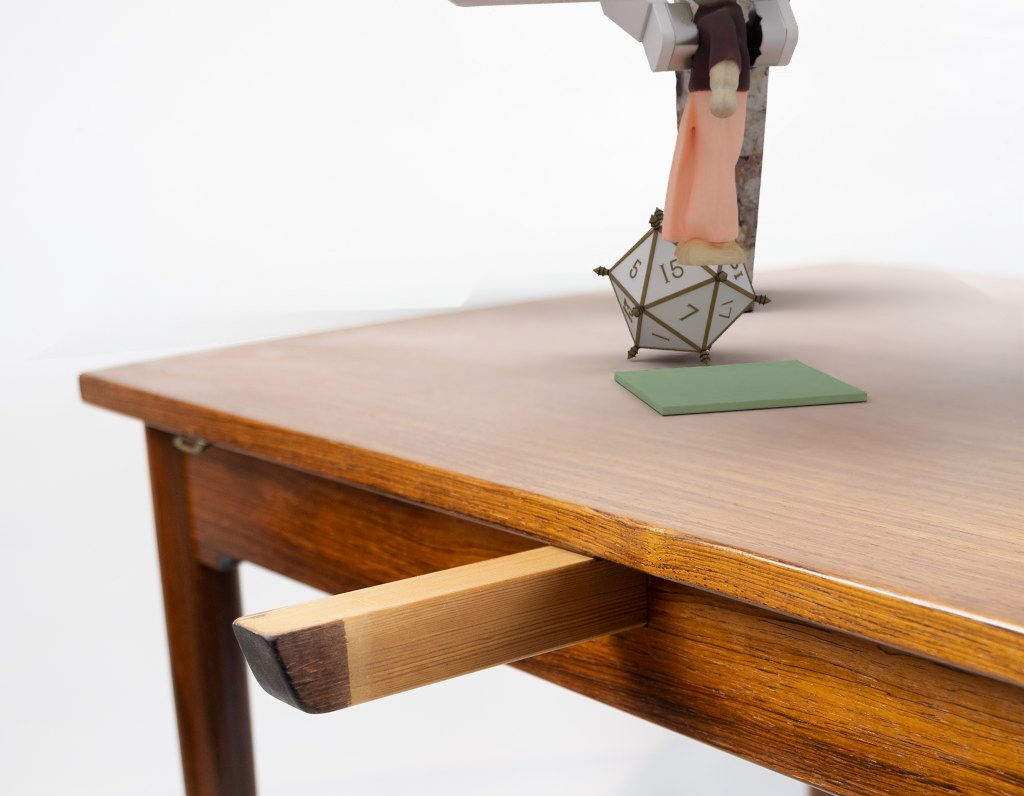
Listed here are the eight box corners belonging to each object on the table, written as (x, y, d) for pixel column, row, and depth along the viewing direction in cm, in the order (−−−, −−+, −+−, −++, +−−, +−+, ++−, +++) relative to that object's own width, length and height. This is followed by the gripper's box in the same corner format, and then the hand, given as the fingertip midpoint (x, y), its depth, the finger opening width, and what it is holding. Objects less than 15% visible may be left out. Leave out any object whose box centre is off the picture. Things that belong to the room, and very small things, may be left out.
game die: (653, 421, 87) (606, 269, 89) (795, 365, 85) (743, 211, 87) (613, 367, 79) (562, 201, 81) (769, 304, 77) (712, 135, 79)
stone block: (778, 312, 100) (788, -22, 93) (672, 315, 101) (674, -17, 93) (760, 288, 113) (768, -9, 105) (666, 291, 113) (667, -5, 105)
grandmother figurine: (644, 253, 63) (649, -88, 58) (734, 251, 64) (747, -89, 59) (679, 272, 56) (688, -114, 51) (780, 270, 57) (799, -115, 52)
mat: (797, 367, 81) (797, 359, 80) (867, 401, 71) (867, 392, 71) (614, 379, 79) (614, 372, 79) (662, 415, 70) (662, 406, 70)
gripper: (846, -132, 67) (944, 106, 62) (390, -124, 62) (454, 133, 57) (900, -274, 61) (1012, -24, 56) (401, -276, 57) (474, -6, 51)
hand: (726, 56), depth 56 cm, fingers closed on grandmother figurine, 2 cm apart
